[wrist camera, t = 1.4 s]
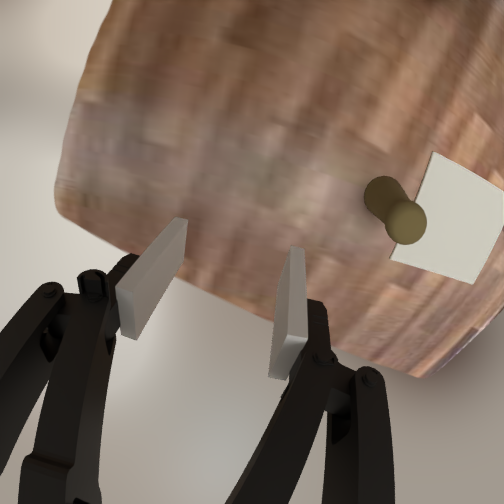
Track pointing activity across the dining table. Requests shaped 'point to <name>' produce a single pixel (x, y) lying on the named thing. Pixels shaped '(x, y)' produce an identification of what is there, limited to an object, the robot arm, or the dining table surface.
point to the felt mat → (454, 221)
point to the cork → (395, 210)
